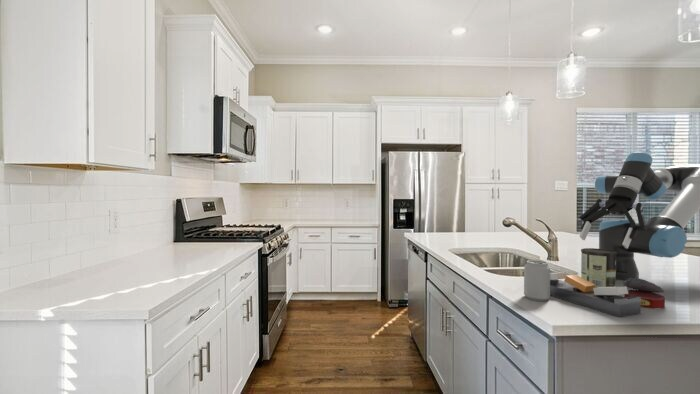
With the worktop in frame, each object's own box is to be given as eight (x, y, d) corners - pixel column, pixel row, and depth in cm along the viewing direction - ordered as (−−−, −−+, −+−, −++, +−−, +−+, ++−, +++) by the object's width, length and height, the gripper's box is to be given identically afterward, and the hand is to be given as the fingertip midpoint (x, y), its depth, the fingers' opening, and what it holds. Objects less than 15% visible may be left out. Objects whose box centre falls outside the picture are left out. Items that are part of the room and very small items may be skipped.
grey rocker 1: (540, 280, 127) (539, 274, 127) (549, 279, 128) (548, 273, 129) (557, 279, 120) (556, 273, 121) (567, 278, 122) (565, 272, 122)
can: (552, 298, 118) (553, 261, 117) (545, 303, 112) (546, 264, 112) (528, 293, 123) (529, 258, 123) (520, 298, 118) (521, 261, 117)
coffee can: (606, 287, 131) (607, 248, 131) (621, 295, 121) (622, 253, 121) (575, 285, 133) (576, 247, 133) (587, 293, 123) (588, 252, 123)
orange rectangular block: (564, 281, 118) (565, 275, 118) (573, 280, 120) (575, 274, 119) (584, 292, 112) (586, 286, 111) (593, 291, 114) (595, 285, 113)
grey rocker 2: (594, 295, 109) (592, 288, 109) (604, 293, 111) (602, 286, 111) (618, 295, 103) (616, 287, 103) (628, 293, 104) (626, 286, 105)
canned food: (622, 315, 115) (609, 284, 120) (653, 311, 116) (638, 280, 120) (648, 309, 105) (633, 275, 110) (681, 305, 106) (665, 272, 110)
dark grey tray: (529, 289, 128) (529, 276, 128) (548, 286, 131) (548, 273, 131) (619, 317, 100) (620, 300, 100) (640, 313, 103) (640, 297, 103)
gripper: (584, 183, 138) (561, 230, 134) (665, 188, 117) (641, 244, 113) (592, 193, 142) (570, 240, 138) (672, 200, 120) (649, 255, 116)
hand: (602, 242), depth 125 cm, fingers open, 13 cm apart
